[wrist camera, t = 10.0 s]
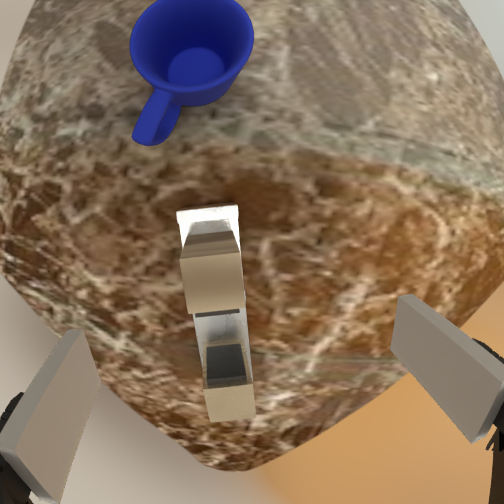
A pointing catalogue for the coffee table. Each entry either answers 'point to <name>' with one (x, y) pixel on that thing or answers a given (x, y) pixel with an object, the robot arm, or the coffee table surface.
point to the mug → (186, 58)
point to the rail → (221, 329)
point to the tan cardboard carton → (212, 274)
